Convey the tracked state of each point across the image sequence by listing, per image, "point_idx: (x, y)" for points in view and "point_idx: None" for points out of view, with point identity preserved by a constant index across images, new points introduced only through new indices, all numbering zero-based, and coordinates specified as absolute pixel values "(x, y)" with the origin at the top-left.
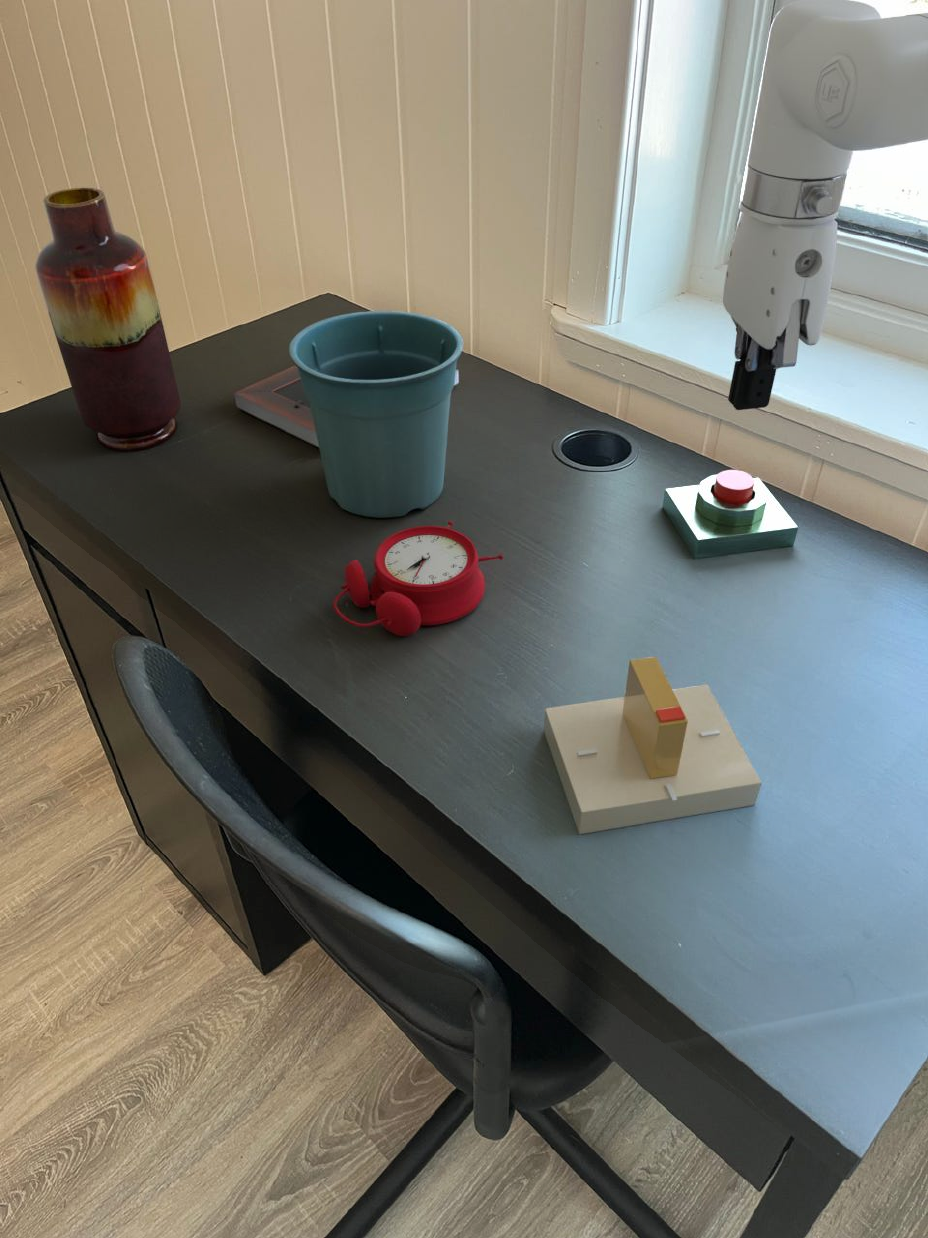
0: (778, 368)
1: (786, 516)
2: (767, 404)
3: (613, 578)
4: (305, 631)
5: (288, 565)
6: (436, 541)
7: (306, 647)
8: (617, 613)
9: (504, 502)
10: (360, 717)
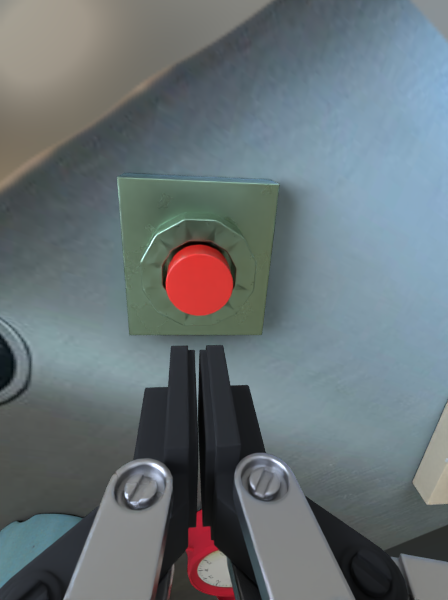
0: (278, 458)
1: (246, 188)
2: (221, 346)
3: (261, 404)
4: None
5: (170, 593)
6: (210, 561)
7: None
8: (314, 413)
9: (97, 468)
10: None
